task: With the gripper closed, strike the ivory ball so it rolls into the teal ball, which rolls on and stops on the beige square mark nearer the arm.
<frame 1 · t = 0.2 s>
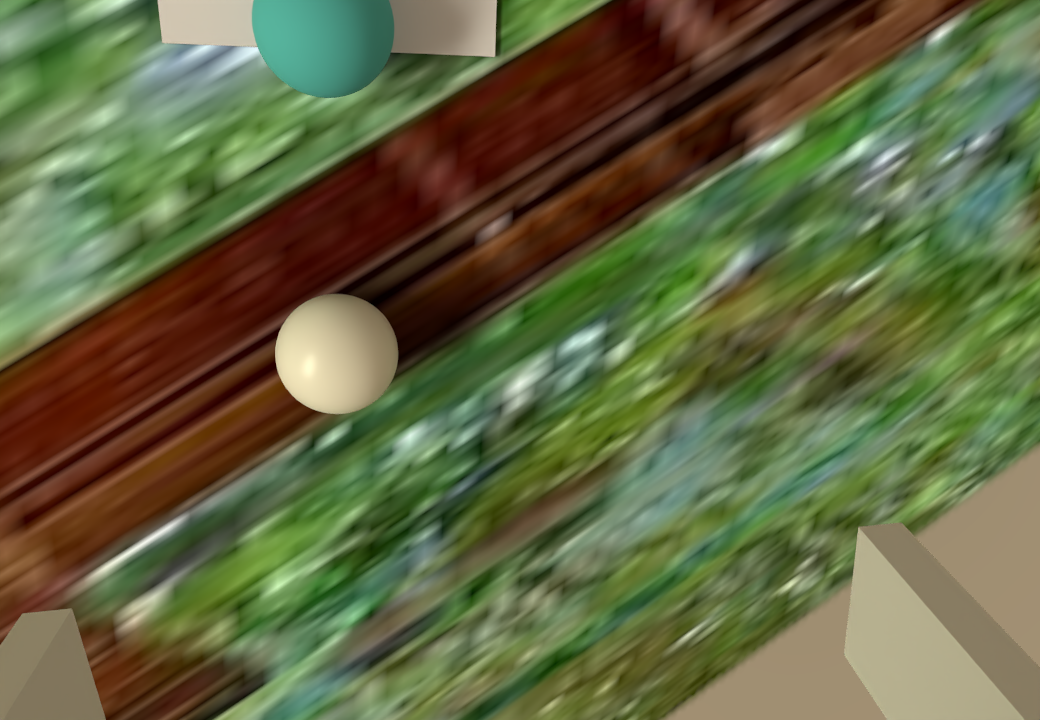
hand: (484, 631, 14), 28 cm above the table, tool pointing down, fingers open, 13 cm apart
object ball: (324, 25, 33), on the table
cue ball: (337, 353, 39), on the table
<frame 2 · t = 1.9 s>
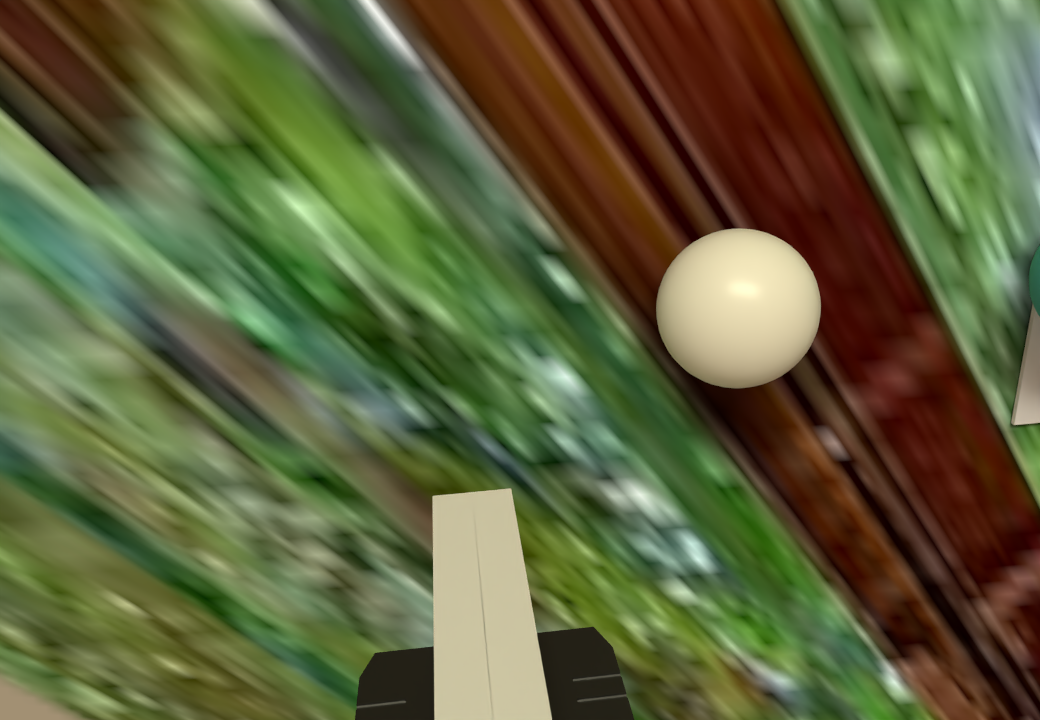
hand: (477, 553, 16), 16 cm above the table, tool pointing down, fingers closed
cue ball: (736, 308, 29), on the table
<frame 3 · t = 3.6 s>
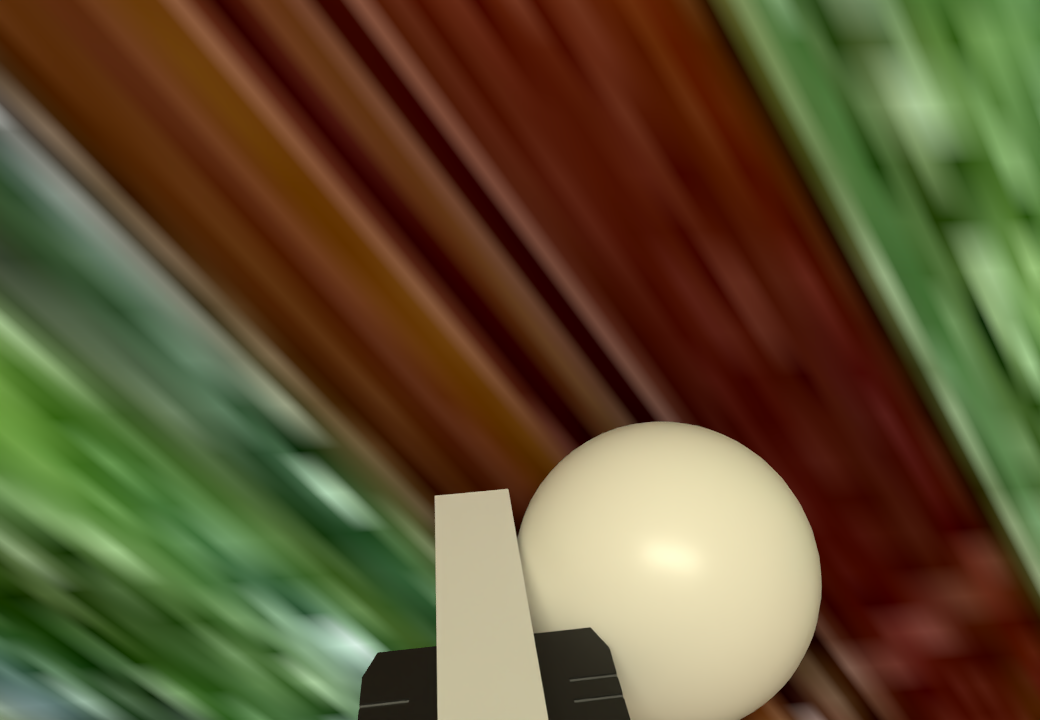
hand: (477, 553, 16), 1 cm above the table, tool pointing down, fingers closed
cue ball: (662, 571, 15), on the table, touching gripper
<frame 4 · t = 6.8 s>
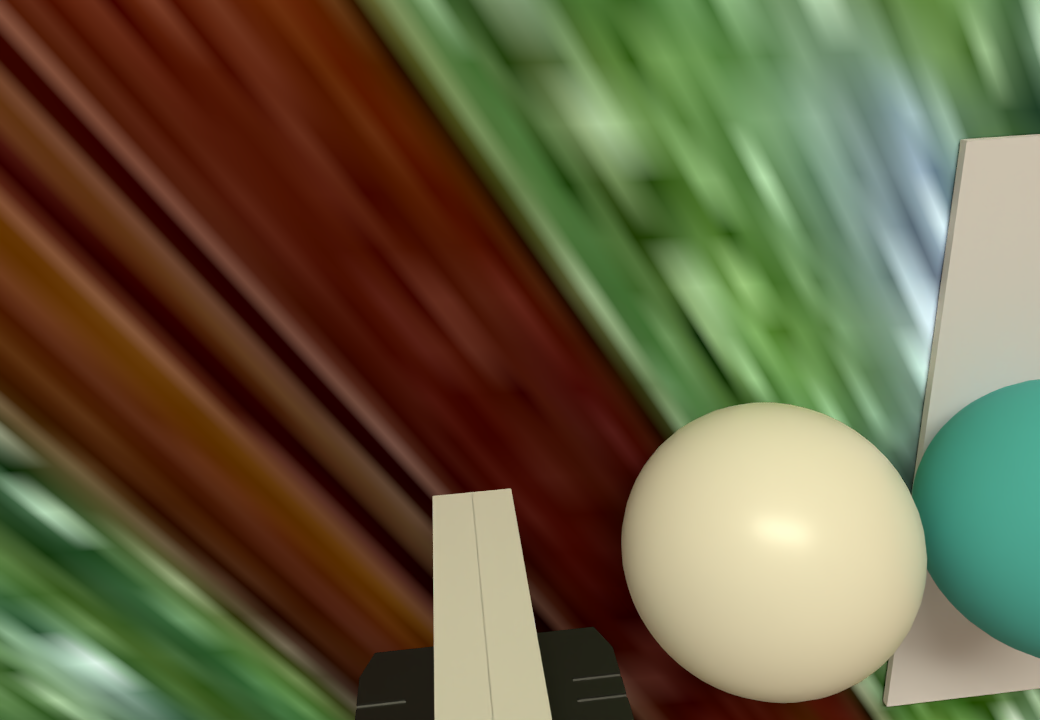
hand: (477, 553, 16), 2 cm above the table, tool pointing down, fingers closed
cue ball: (766, 546, 16), on the table
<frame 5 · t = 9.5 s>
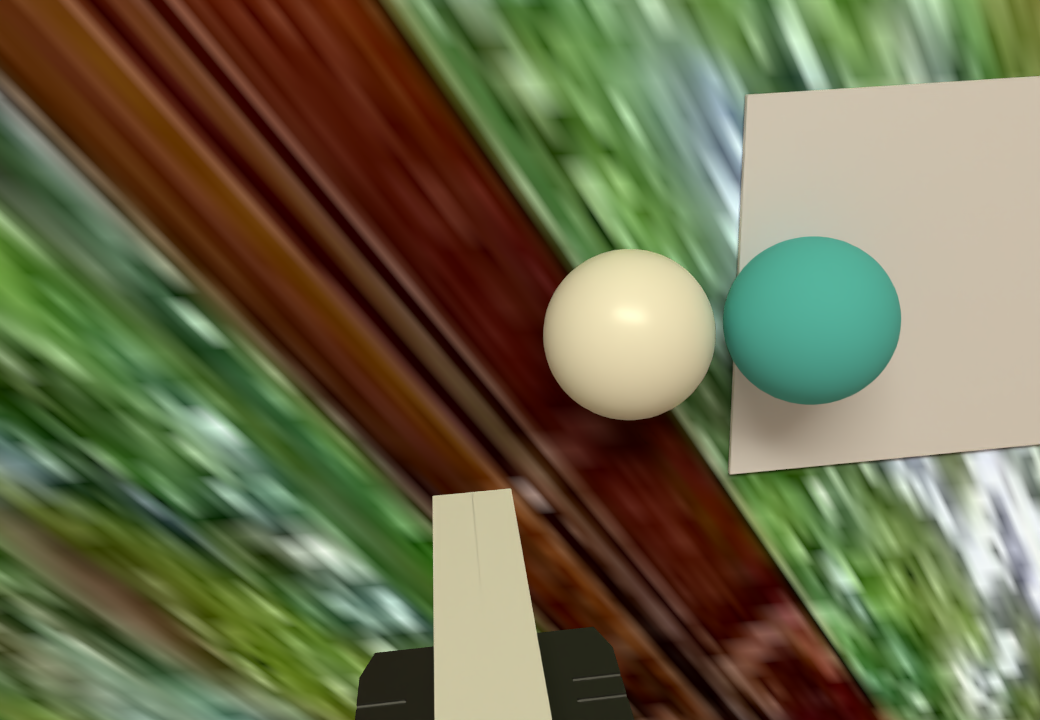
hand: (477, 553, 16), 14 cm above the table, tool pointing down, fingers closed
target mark: (924, 284, 31), on the table
object ball: (809, 320, 28), on the table
cue ball: (628, 334, 27), on the table
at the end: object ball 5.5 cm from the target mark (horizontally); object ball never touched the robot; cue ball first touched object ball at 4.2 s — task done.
